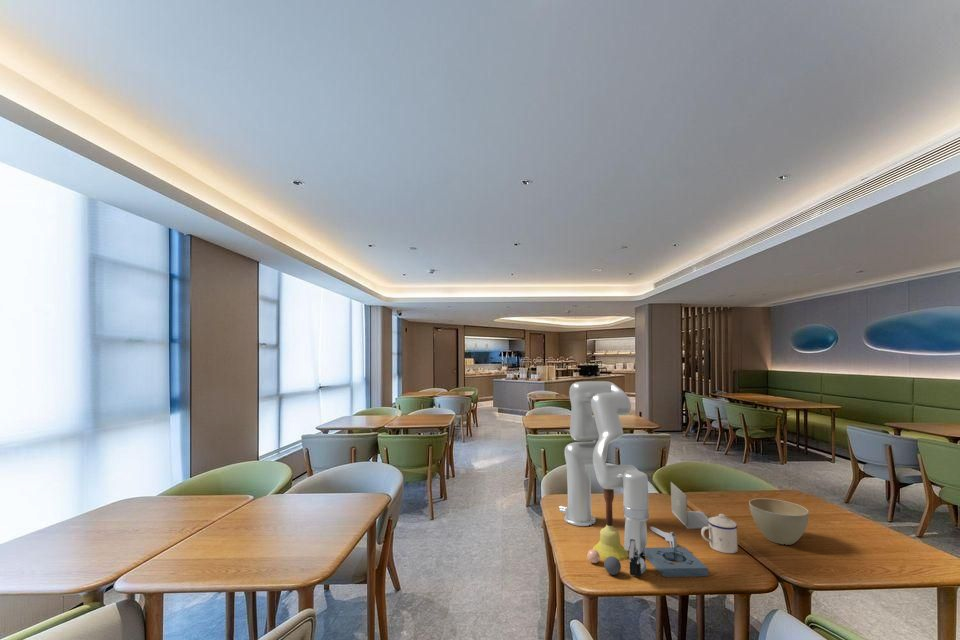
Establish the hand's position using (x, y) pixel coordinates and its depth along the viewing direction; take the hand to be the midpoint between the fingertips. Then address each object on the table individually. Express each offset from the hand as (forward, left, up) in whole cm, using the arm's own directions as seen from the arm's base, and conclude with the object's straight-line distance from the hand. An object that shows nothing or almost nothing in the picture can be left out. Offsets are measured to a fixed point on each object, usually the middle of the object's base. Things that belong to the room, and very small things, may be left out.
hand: (637, 571), depth 131 cm
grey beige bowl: (+38, +54, -1) cm, 66 cm away
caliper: (+2, +30, -1) cm, 30 cm away
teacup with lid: (+20, +34, -1) cm, 39 cm away
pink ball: (-14, -1, +1) cm, 14 cm away
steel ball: (0, 0, +2) cm, 2 cm away
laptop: (+9, +57, -1) cm, 58 cm away
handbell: (-11, +9, -1) cm, 15 cm away
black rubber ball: (-6, -5, +2) cm, 8 cm away
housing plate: (+9, +12, -1) cm, 15 cm away
